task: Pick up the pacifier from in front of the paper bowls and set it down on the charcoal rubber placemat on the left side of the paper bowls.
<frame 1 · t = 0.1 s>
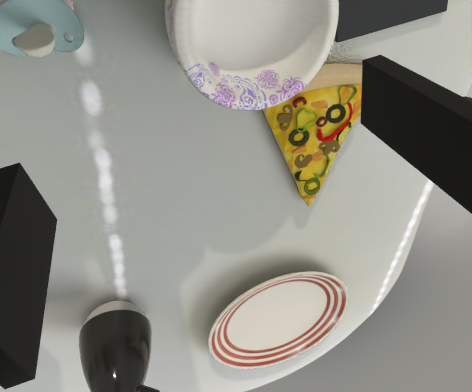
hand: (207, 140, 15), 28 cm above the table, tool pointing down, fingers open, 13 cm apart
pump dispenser: (116, 311, 60), on the table
dinner plate: (275, 311, 72), on the table
paper bowls: (235, 10, 39), on the table
pizza slice: (308, 140, 51), on the table
pacifier: (39, 14, 35), on the table
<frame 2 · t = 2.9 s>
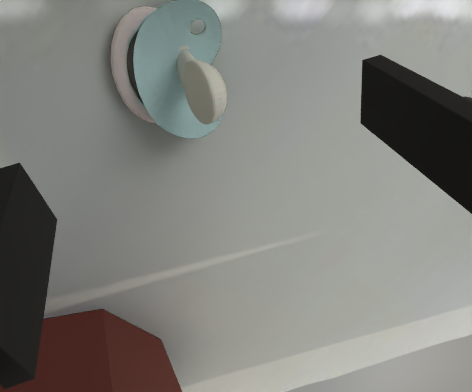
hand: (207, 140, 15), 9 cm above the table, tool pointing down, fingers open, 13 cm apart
bucket: (74, 365, 35), on the table
pacifier: (165, 63, 22), on the table
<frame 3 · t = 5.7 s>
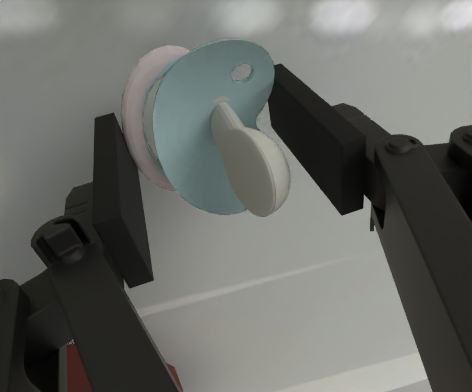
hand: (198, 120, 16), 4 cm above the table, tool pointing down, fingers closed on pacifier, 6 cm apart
pacifier: (193, 116, 16), point 4 cm above the table, touching gripper
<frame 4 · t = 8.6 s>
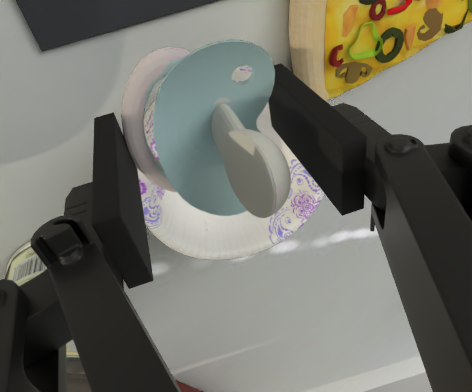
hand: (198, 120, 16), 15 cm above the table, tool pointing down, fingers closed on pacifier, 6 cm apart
paper bowls: (215, 138, 34), on the table
pizza slice: (400, 0, 32), on the table
pacifier: (193, 117, 16), point 15 cm above the table, touching gripper
coffee can: (66, 270, 38), on the table
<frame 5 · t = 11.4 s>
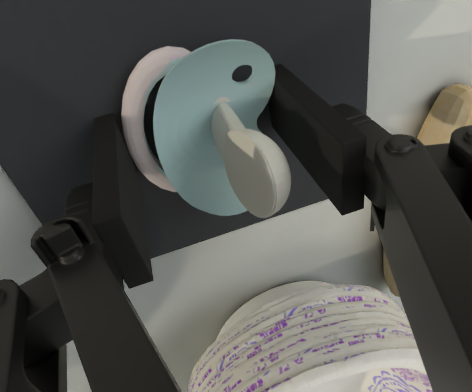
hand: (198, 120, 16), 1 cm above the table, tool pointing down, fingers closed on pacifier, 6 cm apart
placemat: (195, 113, 16), on the table
paper bowls: (280, 322, 28), on the table
pacifier: (194, 117, 16), resting on placemat, touching gripper
when the fingers open (1 cm above the table, at t = 11.6 s): pacifier stays where it is, resting on placemat.
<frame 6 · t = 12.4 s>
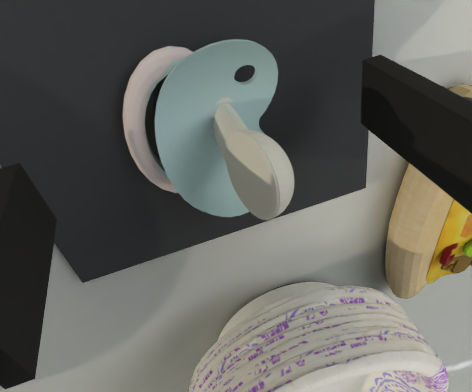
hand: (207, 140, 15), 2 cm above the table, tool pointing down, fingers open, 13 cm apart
placemat: (197, 114, 16), on the table
paper bowls: (281, 323, 28), on the table
pacifier: (195, 117, 16), resting on placemat
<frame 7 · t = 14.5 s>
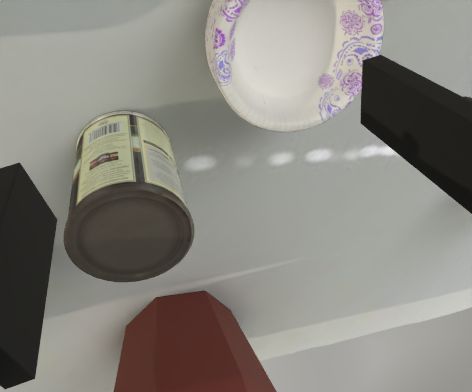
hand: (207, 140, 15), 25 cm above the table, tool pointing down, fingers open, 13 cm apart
paper bowls: (271, 29, 38), on the table
bucket: (183, 322, 63), on the table
coffee can: (126, 152, 42), on the table
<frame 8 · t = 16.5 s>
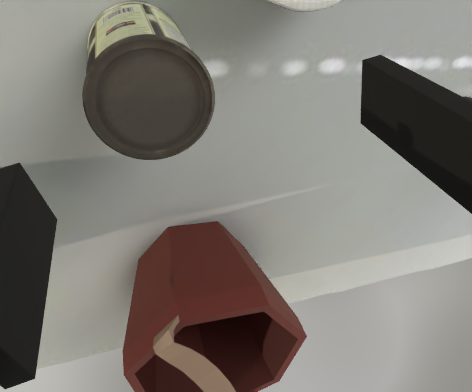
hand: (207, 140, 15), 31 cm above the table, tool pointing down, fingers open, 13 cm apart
bucket: (195, 258, 62), on the table
coffee can: (138, 52, 41), on the table
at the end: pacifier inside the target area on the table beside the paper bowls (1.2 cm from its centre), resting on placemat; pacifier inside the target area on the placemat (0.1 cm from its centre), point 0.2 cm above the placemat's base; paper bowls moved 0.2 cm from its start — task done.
